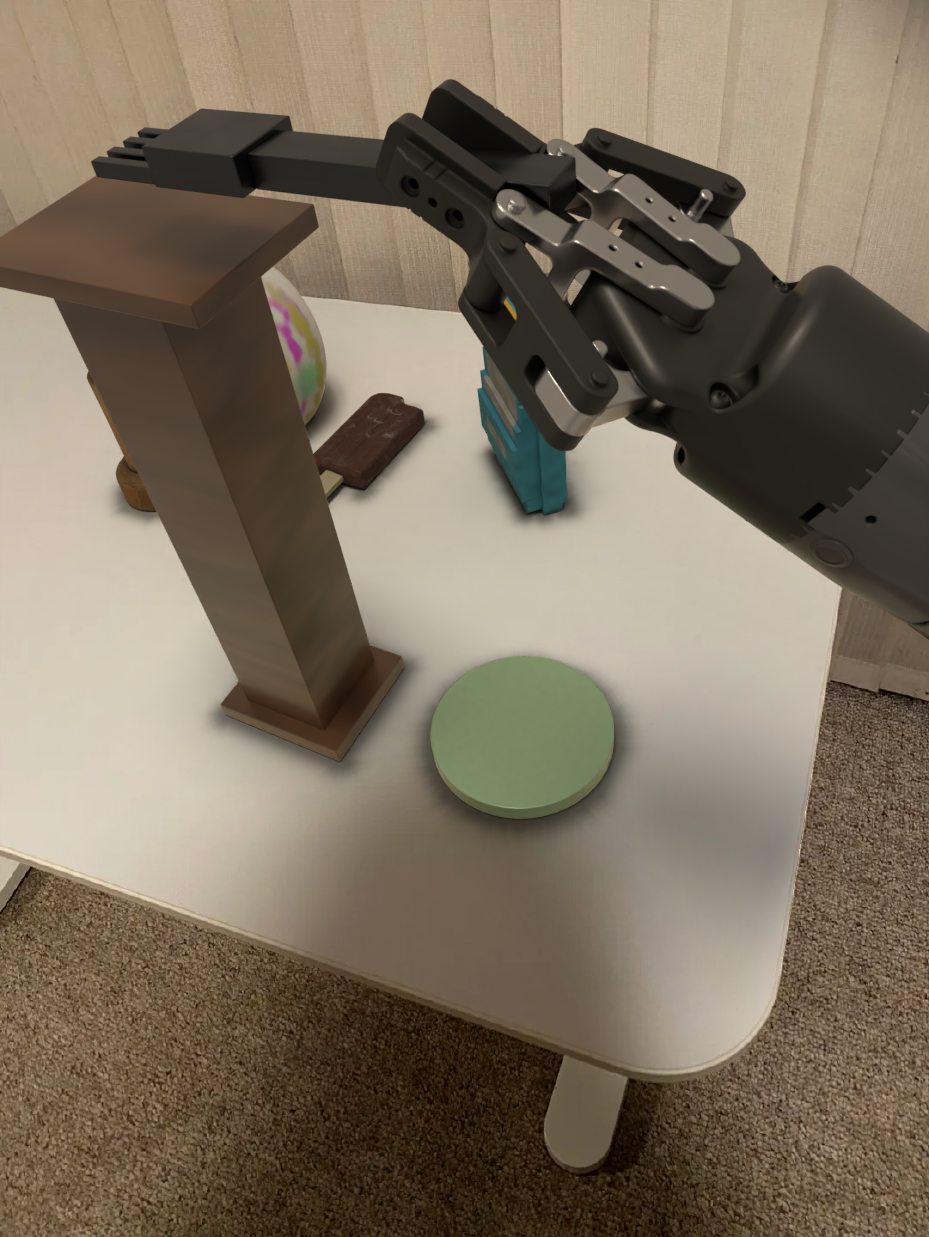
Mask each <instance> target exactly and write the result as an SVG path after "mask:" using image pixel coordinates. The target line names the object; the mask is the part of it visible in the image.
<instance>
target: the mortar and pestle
mask: <svg viewBox="0 0 929 1237" xmlns="http://www.w3.org/2000/svg"><path fill="white" fill-rule="evenodd" d="M86 380H87V383H88V385H89V386H90V388H91V391H92V393H93V395H94V396H95V398H96V400H97V402H98V404H99V407H100V409H101V410H102V413H103V415H104V417H105V419H106V421H107V423H108V425H109V427H110V429H111V432H112V434H113V436H114V438H115V440H116V442H117V444H118V447H119V450H120V451H121V454H122V455H123V456H122V458H121V459H120V461H119V462H118V464H117V467H116V469H115V478H116V481H117V483H118V486H119V488H120V490H121V492H122V494H123V496H124V499H125V500H126V501H127V503H128V504H129V506H131V507H133V508H135V509H138V510H141V511H145V512H157V511H156V509H155V507H154V505H153V503H152V501H151V499H150V497H149V495H148V493H147V491H146V489H145V487H144V485H143V483H142V481H141V478H140V476H139V474H138V472H137V470H136V468H135V466H134V464H133V462H132V460H131V458H130V456H129V454H128V452H127V450H126V447H125V445H124V443H123V441H122V439H121V437H120V435H119V433H118V431H117V429H116V427H115V425H114V423H113V421H112V419H111V416H110V414H109V412H108V410H107V408H106V406H105V404H104V402H103V400H102V398H101V396H100V394H99V392H98V390H97V388H96V385H95V383H94V381H93V379H92V377H91V375H90V373H89V371H88V370H87V374H86Z"/></svg>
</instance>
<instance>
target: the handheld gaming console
mask: <svg viewBox="0 0 929 1237" xmlns="http://www.w3.org/2000/svg"><path fill="white" fill-rule="evenodd" d="M504 304H505V305H506V307H507V308H508V310H509V311H510V313H511V314H512V316H513V317H514V319H515V320H516V309H515V307H514V305H513V304H512V302H511V301H510V299H509V298H508V296H507V297H506V299H505V301H504ZM482 356H483V365H484V366H483V367H484V368H483V369H480V370H479V374H480V375H479V376H480V383H481V387H479V388H477V390H476V392H477V397H478V407H479V414H480V424H481V427H482V429H483V430H484V432H485V435H486V436H487V440H488V442H489V444H490V446H491V448H492V449H493V451H494V454H495V455H494V456H495V458H496V459H497V461H498V463H499V465H500V467H501V468H502V470H503V472H504V474H505V476H506V478H507V480H508V481H509V484H510V485H511V487H512V489H513V491H514V493H515V494H516V497H517V498H518V500H519V502H520V504H521V506H522V507H523V509H524V512H525V513H526V514H530V513H533V512H536V511H539V510H540V511H541V513H542V514H543V516H547V515H550V514H554V513H557V512H560V511H563V510H564V503H567V502H568V479H567V478H568V477H567V476H568V475H567V455H566V454H567V453H566V452H567V451H560V450H557V449H555V448H553V447H552V446H550V445H549V444H548V443H547V442H546V441H545V440H544V438H543V437H542V435H541V434H540V432H539V430H538V429H537V427H536V426H535V424H534V423H533V421H532V420H531V418H530V417H529V415H528V414H527V412H526V411H525V409H524V408H523V406H522V405H521V403H520V401H519V400H518V398H517V397H516V395H515V394H514V392H513V391H512V389H511V388H510V386H509V385H508V383H507V382H506V380H505V379H504V377H503V376H502V374H501V372H500V371H499V369H498V368H497V366H496V365H495V363H494V362H493V360H492V359H491V357H490V356H489V354H488V353H487V351H486V350H485V348H484V347H483V346H482Z"/></svg>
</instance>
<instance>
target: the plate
mask: <svg viewBox="0 0 929 1237" xmlns="http://www.w3.org/2000/svg"><path fill="white" fill-rule="evenodd" d="M429 738H430V747H431V752H432V754H433V759H434V764H435V767H436V769H437V771H438V774H439V776H440V777H441V779H442V781H443V783H444V784H445V785H446V786H447V788H448V789H449V790H450V791H451V792H452V793H453V794H454V795H455V796H456V797H457V798H458V799H459V800H461V801H462V802H464V803H465V804H466V805H468V806H469V807H471V808H474V809H476V810H477V811H480V812H482V813H485V814H488V815H491V816H494V817H500V818H505V819H513V820H515V819H516V820H527V819H528V820H529V819H535V818H542V817H547V816H549V815H553V814H556V813H559V812H561V811H564V810H566V809H569V808H571V807H572V806H573V805H575V804H578V803H579V802H580V801H581V800H583V799H584V798H585V797H587V796H588V795H589V794H590V793H591V792H592V791H593V790H594V789H595V788H596V787H597V786H598V785H599V783H600V782H601V781H602V779H603V778H604V776H605V774H606V772H607V770H608V769H609V766H610V764H611V760H612V758H613V753H614V747H615V746H614V745H615V724H614V717H613V713H612V709H611V706H610V705H609V702H608V700H607V698H606V697H605V695H604V693H603V692H602V690H601V689H600V688H599V687H598V686H597V685H596V683H595V682H594V681H592V680H591V679H590V678H589V677H588V676H587V675H585V674H584V673H583V672H582V671H580V670H578V669H577V668H575V667H573V666H571V665H569V664H566V663H564V662H561V661H559V660H556V659H553V658H552V659H551V658H548V657H542V656H536V655H535V656H533V655H532V656H531V655H519V656H509V657H503V658H499V659H496V660H491V661H489V662H486V663H484V664H481V665H479V666H476V667H475V668H473V669H471V670H469V671H468V672H466V673H465V674H463V675H462V676H461V677H460V678H458V679H457V680H456V681H454V683H453V684H452V685H451V686H450V687H449V688H448V689H447V690H446V692H444V694H443V696H442V697H441V699H440V700H439V702H438V704H437V706H436V707H435V711H434V713H433V716H432V720H431V724H430V732H429Z"/></svg>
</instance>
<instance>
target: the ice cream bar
mask: <svg viewBox="0 0 929 1237" xmlns="http://www.w3.org/2000/svg"><path fill="white" fill-rule="evenodd" d="M425 422H426V420H425V414H424V410H423V409H421V408H419V407H416V406H414V405H410V404H406V403H405V398H404V397H403V396H400V395H397V394H393V393H389V392H378V393H375V394H372V395H371V396H370V397H368V398H367V400H365V402H363V403H362V404H361V405H360V406H359V408H357V410H355V412H353V414H352V415H350V417H348V419H346V420H345V422H344V423H343V424H341V425H340V427H338V429H336V430H335V432H334V433H333V434H332V435H331V436H329V437H328V438H327V440H326V441H324V443H322V444H321V445H320V447H318V448H317V449H316V450H315V451H314V452H313V454H314V458H315V461H316V464H317V468H318V471H319V475H320V478H321V481H322V485H323V488H324V492H325V495H326V498H327V499H328V498H329V497H330V496H331V495H332V494H333V493H334V491H336V489H337V488H338V487H339V486H341V484H342V483H343V484H345V485H348V486H352V487H354V488H359V489H364V490H365V489H366V488H367V487H368V486H369V485H370V484H371V483H372V482H373V480H374V479H375V478H376V477H377V476H378V475H379V474H380V473H381V472H382V471H383V469H385V468H386V466H387V465H388V464H389V463H390V462H391V461H392V460H393V459H394V457H396V455H397V454H398V453H399V452H400V451H401V450H402V449H403V448H404V447H405V446H406V445H407V444H408V442H410V440H411V439H412V438H413V437H414V436H415V435H417V433H418V432H419V431H420V430H421V429H422V428H423V426H424V424H425Z"/></svg>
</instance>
